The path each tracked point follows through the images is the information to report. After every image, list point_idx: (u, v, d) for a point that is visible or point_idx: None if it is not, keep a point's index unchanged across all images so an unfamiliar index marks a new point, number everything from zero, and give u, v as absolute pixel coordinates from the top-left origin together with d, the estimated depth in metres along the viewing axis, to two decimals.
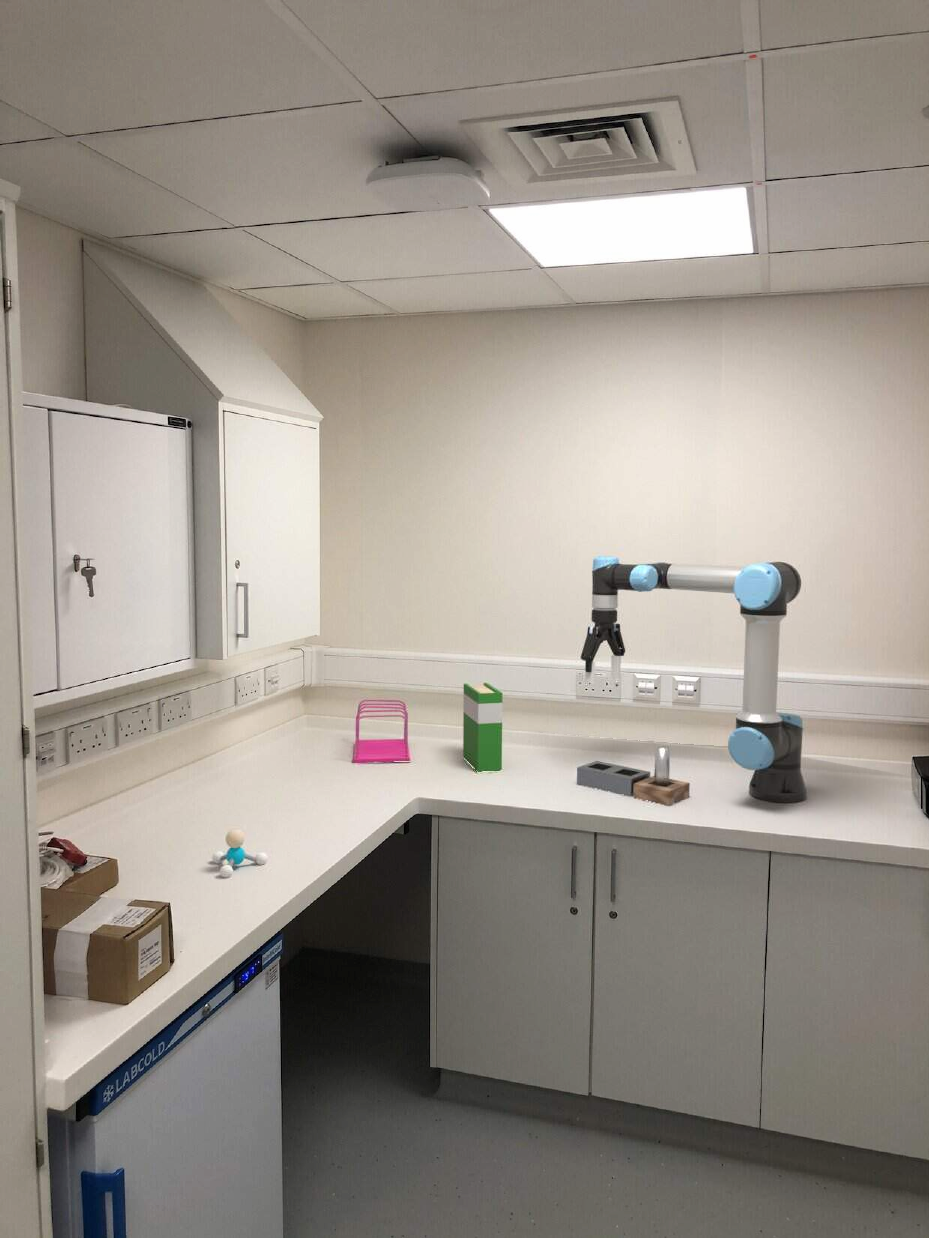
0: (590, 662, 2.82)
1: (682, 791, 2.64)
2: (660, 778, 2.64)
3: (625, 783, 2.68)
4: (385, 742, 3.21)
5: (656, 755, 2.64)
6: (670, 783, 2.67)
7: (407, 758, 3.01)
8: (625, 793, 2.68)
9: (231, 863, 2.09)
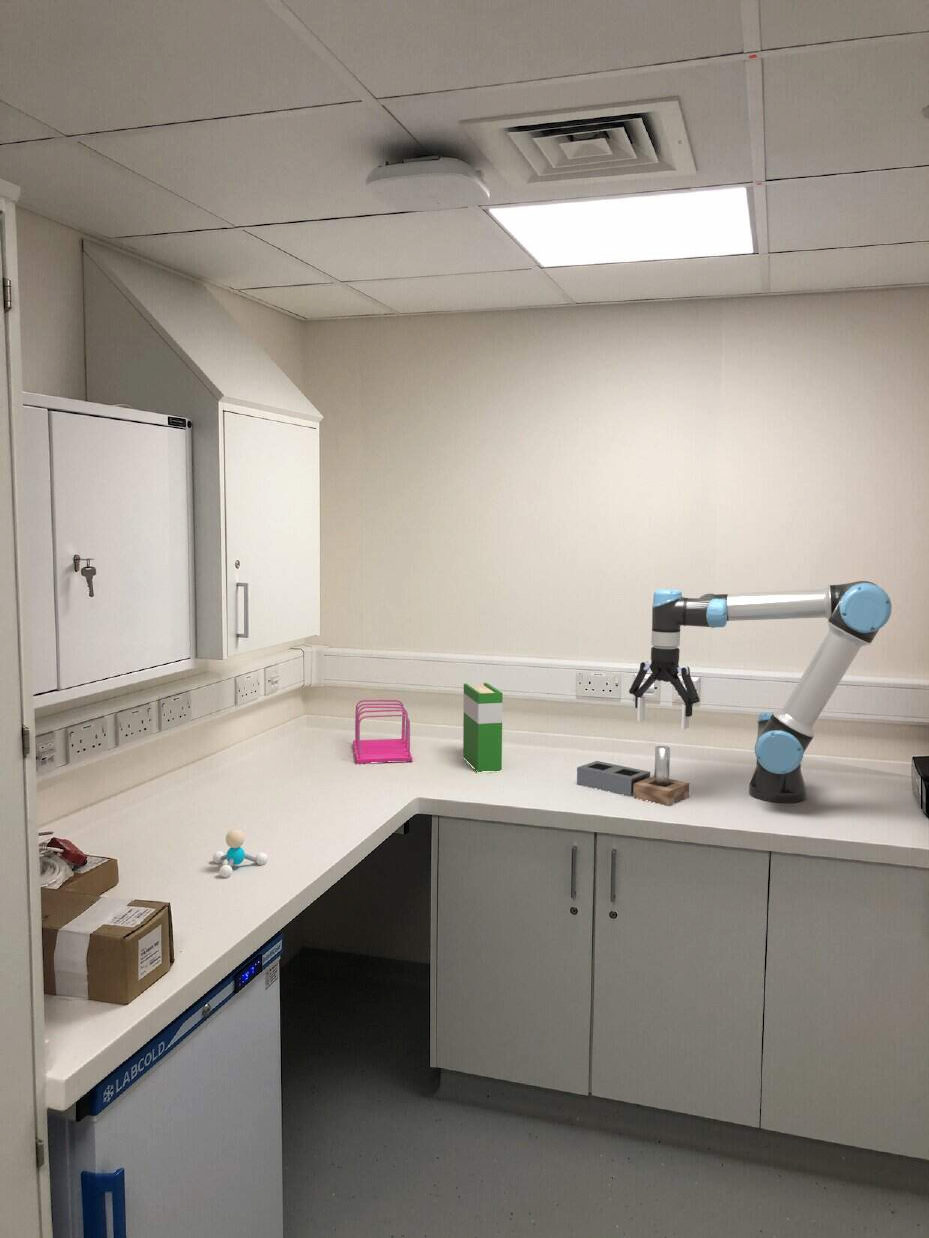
0: (636, 697, 2.68)
1: (682, 791, 2.64)
2: (660, 778, 2.64)
3: (625, 783, 2.68)
4: (383, 742, 3.21)
5: (656, 755, 2.64)
6: (670, 783, 2.67)
7: (409, 757, 3.02)
8: (625, 793, 2.68)
9: (231, 863, 2.09)
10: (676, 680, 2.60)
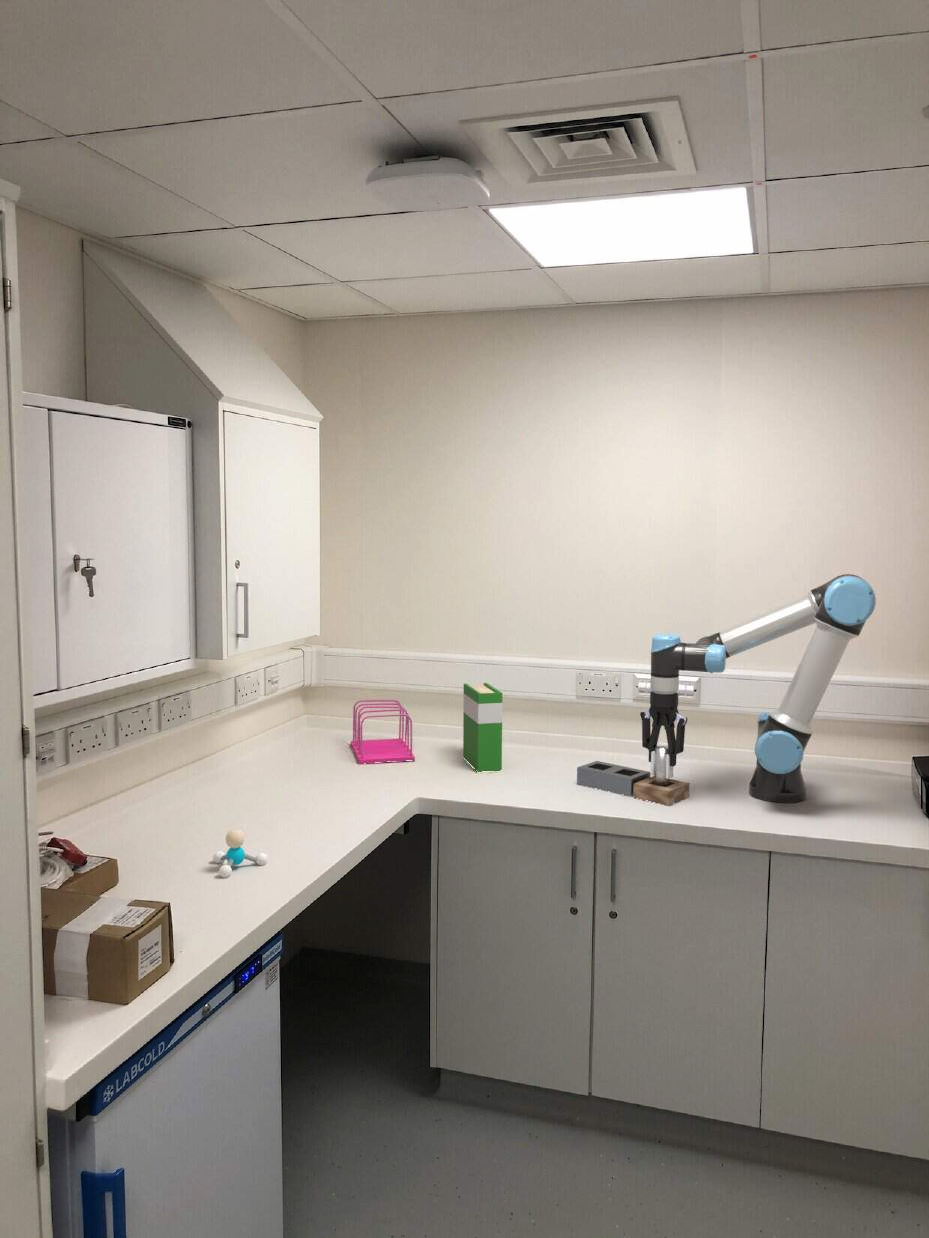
0: (651, 751, 2.66)
1: (682, 791, 2.64)
2: (660, 778, 2.64)
3: (625, 783, 2.68)
4: (382, 742, 3.21)
5: (656, 755, 2.64)
6: (670, 783, 2.67)
7: (412, 757, 3.03)
8: (625, 793, 2.68)
9: (230, 863, 2.09)
10: (670, 728, 2.62)
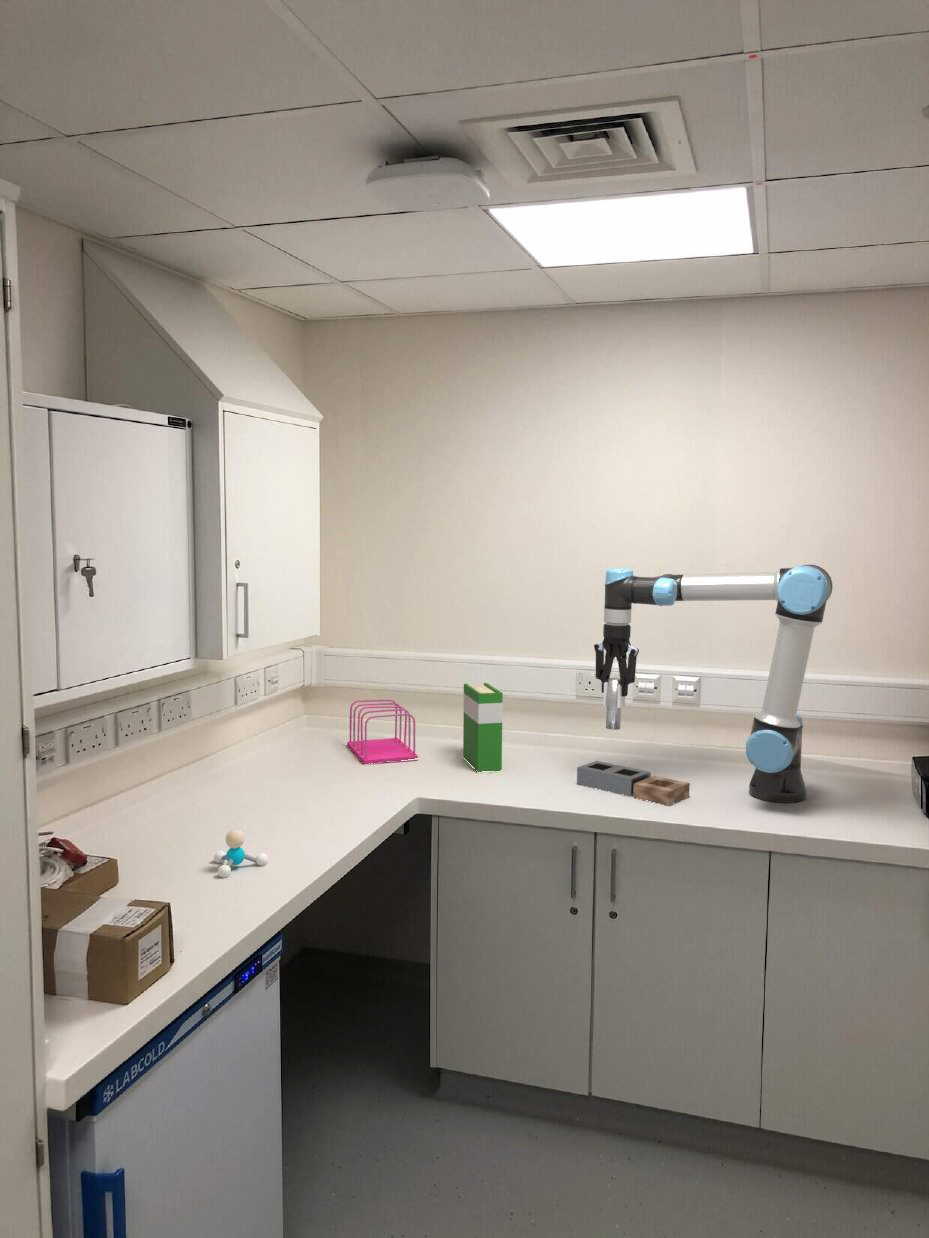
0: (604, 682, 2.74)
1: (682, 791, 2.64)
2: (612, 708, 2.72)
3: (625, 783, 2.68)
4: (379, 742, 3.21)
5: (608, 686, 2.72)
6: (670, 783, 2.67)
7: (415, 756, 3.04)
8: (625, 793, 2.68)
9: (230, 863, 2.09)
10: (622, 659, 2.70)
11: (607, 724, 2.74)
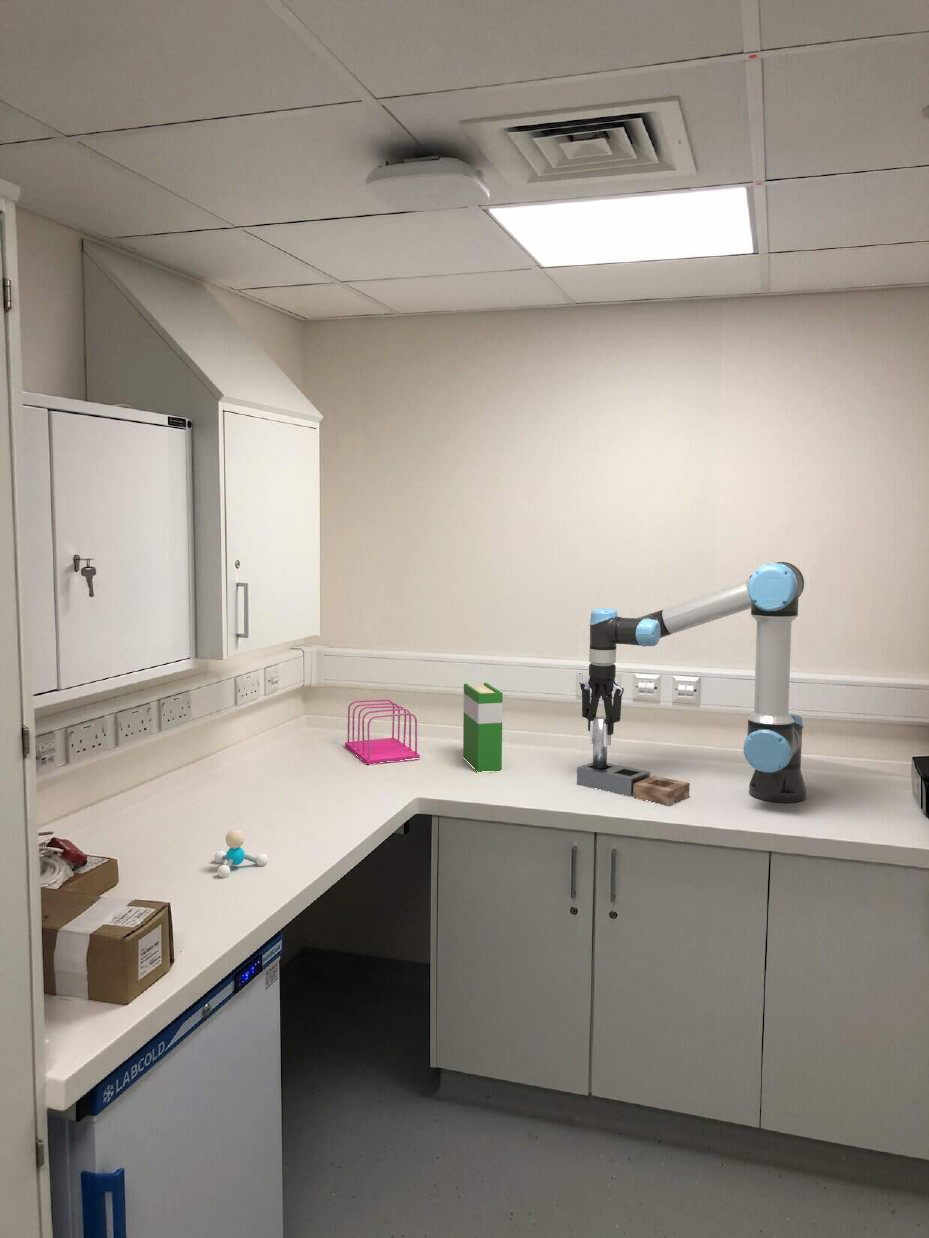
0: None
1: (682, 791, 2.64)
2: (598, 747, 2.76)
3: (625, 783, 2.68)
4: (377, 742, 3.21)
5: (594, 725, 2.77)
6: (670, 783, 2.67)
7: (417, 755, 3.05)
8: (625, 793, 2.68)
9: (229, 863, 2.09)
10: (608, 698, 2.75)
11: (594, 762, 2.78)
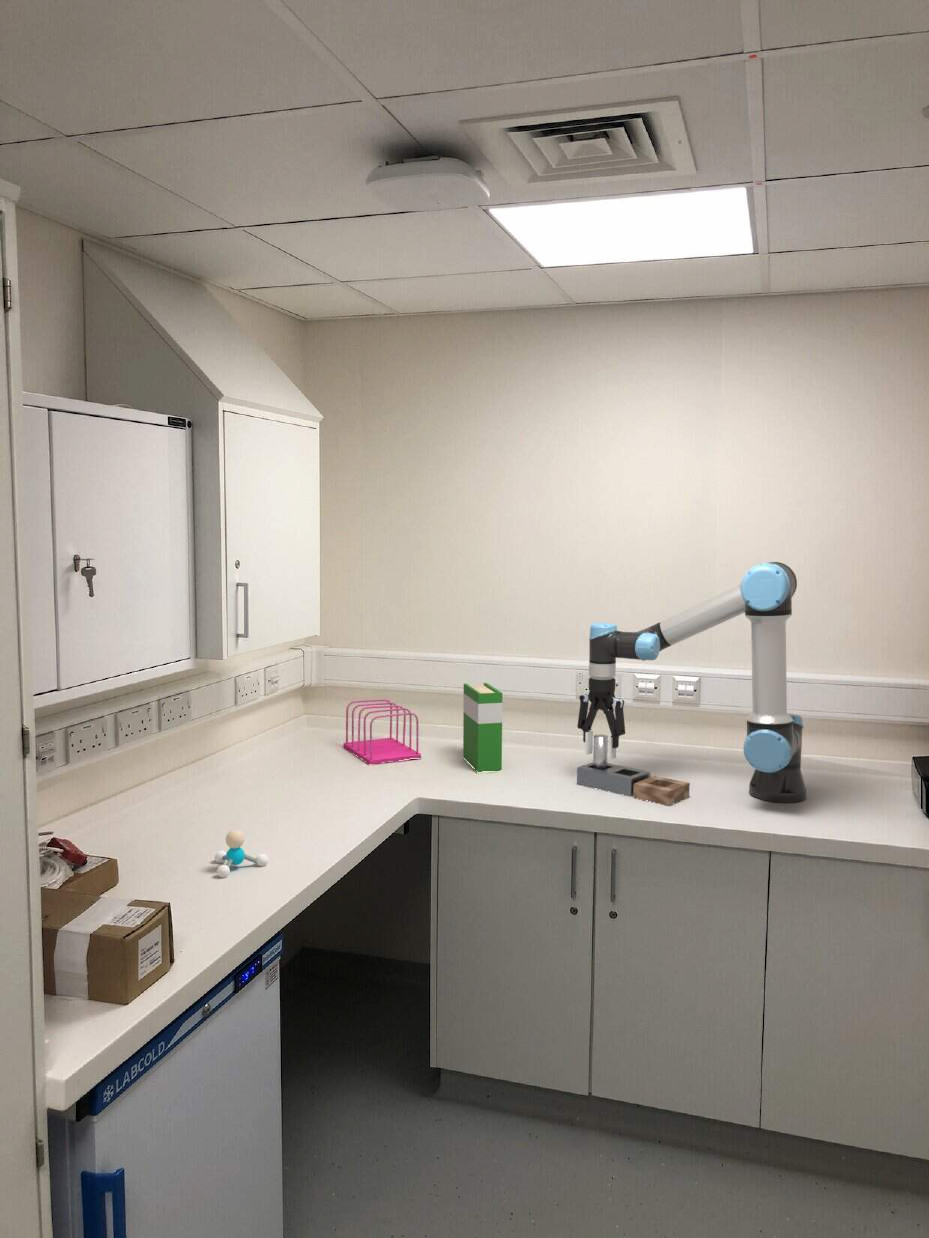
0: None
1: (682, 791, 2.64)
2: (598, 765, 2.77)
3: (625, 783, 2.68)
4: (376, 742, 3.21)
5: (594, 743, 2.77)
6: (670, 783, 2.67)
7: (419, 755, 3.05)
8: (625, 793, 2.68)
9: (229, 863, 2.09)
10: (609, 711, 2.75)
11: None
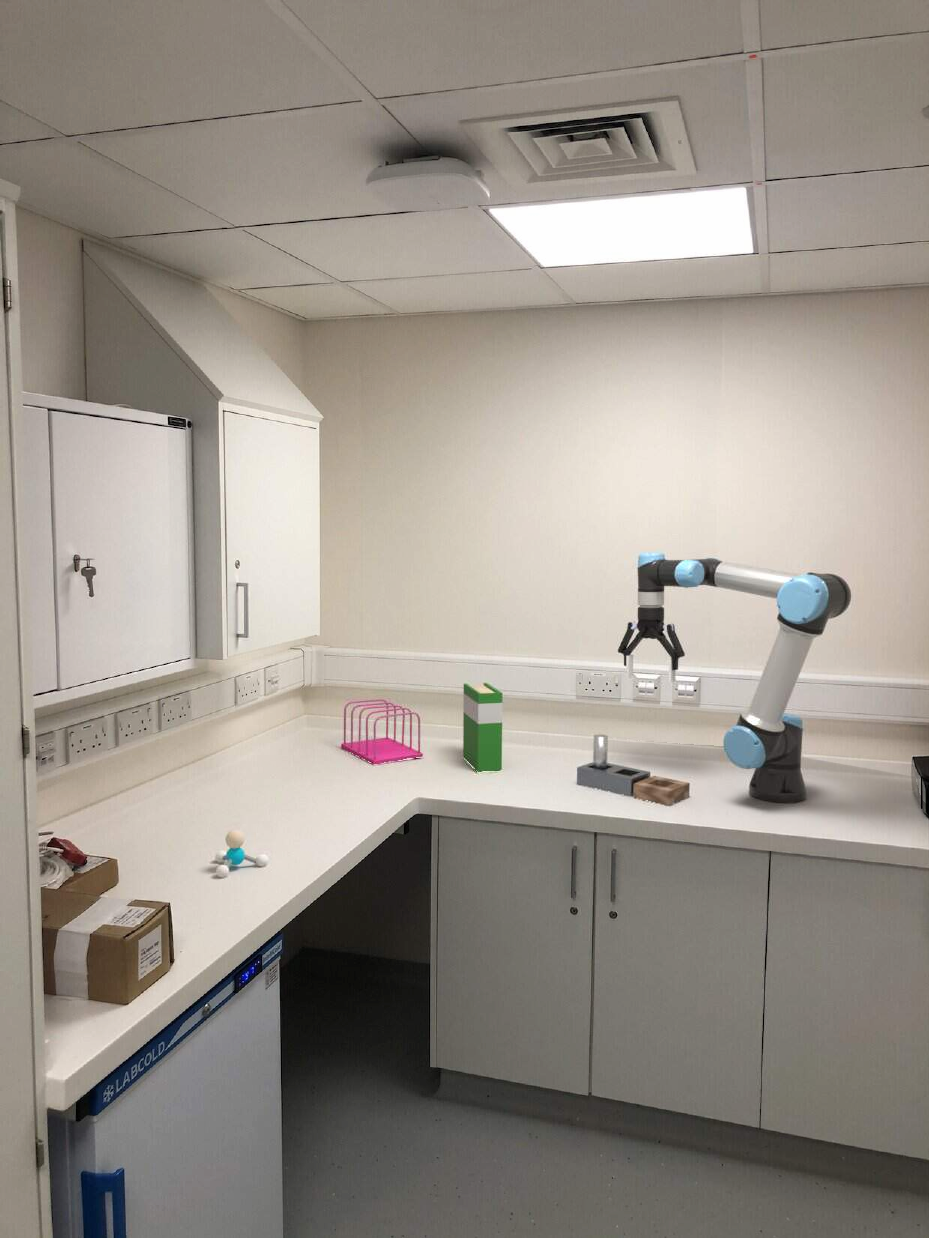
0: (625, 656, 2.85)
1: (682, 791, 2.64)
2: (598, 765, 2.77)
3: (625, 783, 2.68)
4: (374, 742, 3.21)
5: (594, 743, 2.77)
6: (670, 783, 2.67)
7: (421, 754, 3.07)
8: (625, 793, 2.68)
9: (229, 863, 2.09)
10: (662, 637, 2.78)
11: None
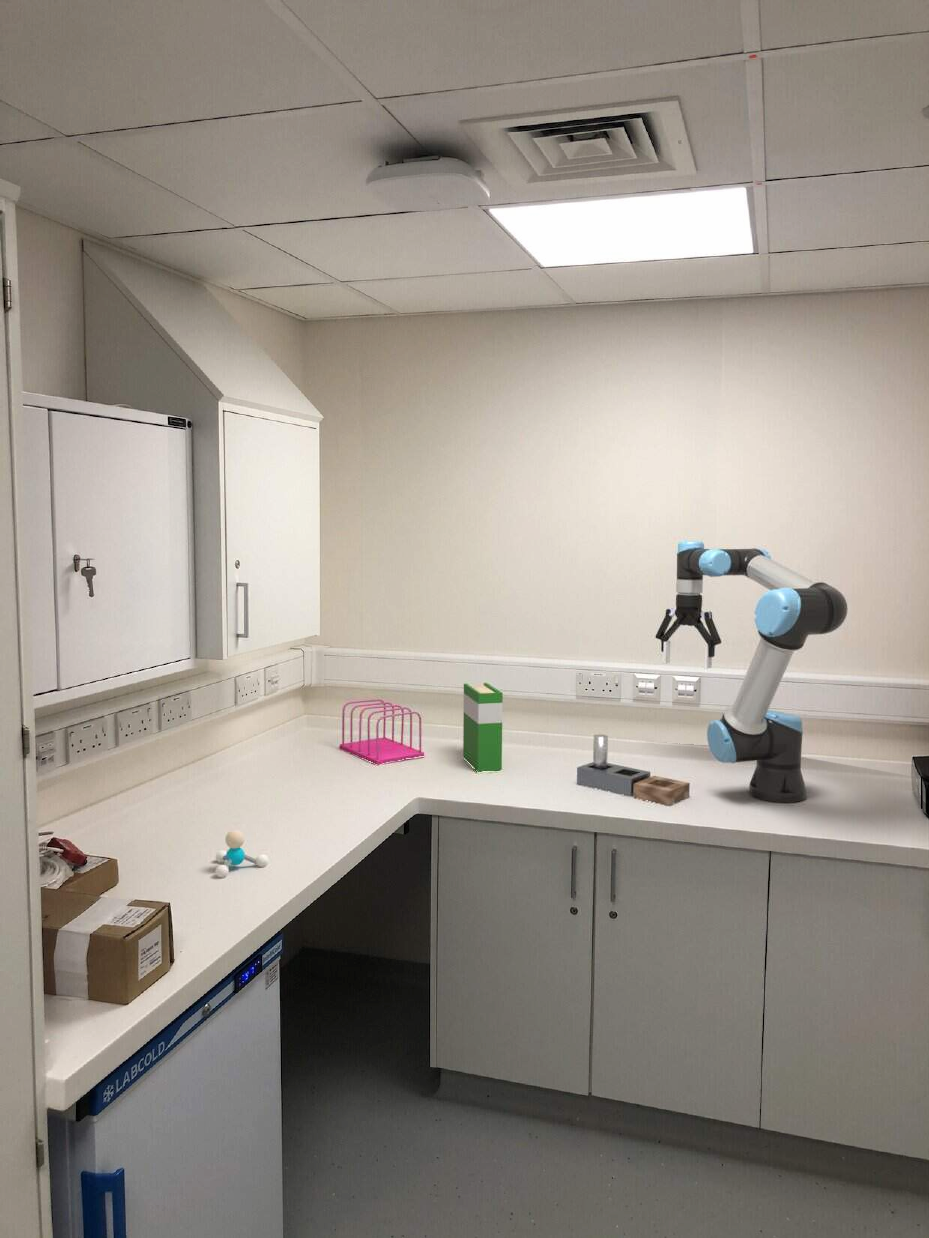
0: (662, 642, 2.91)
1: (682, 791, 2.64)
2: (598, 765, 2.77)
3: (625, 783, 2.68)
4: (372, 742, 3.20)
5: (594, 743, 2.77)
6: (670, 783, 2.67)
7: (422, 753, 3.07)
8: (625, 793, 2.68)
9: (228, 863, 2.09)
10: (699, 624, 2.83)
11: None
